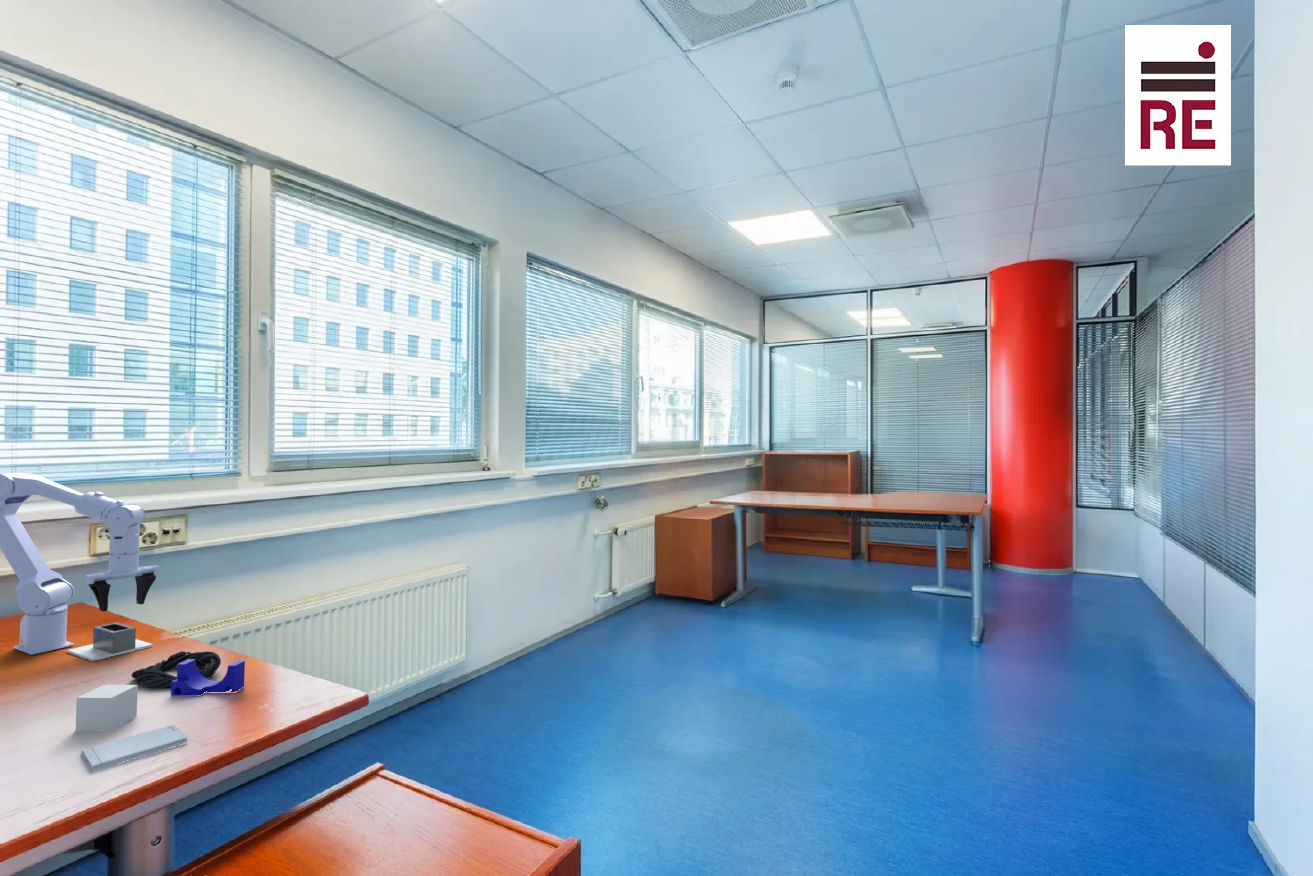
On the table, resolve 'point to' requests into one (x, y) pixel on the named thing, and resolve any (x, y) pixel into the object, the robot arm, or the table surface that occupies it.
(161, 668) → the cable
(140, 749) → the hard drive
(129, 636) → the grey open storage bin
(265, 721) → the table surface
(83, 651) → the keeper plate
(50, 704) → the table surface
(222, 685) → the cable clip
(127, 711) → the light grey cube
